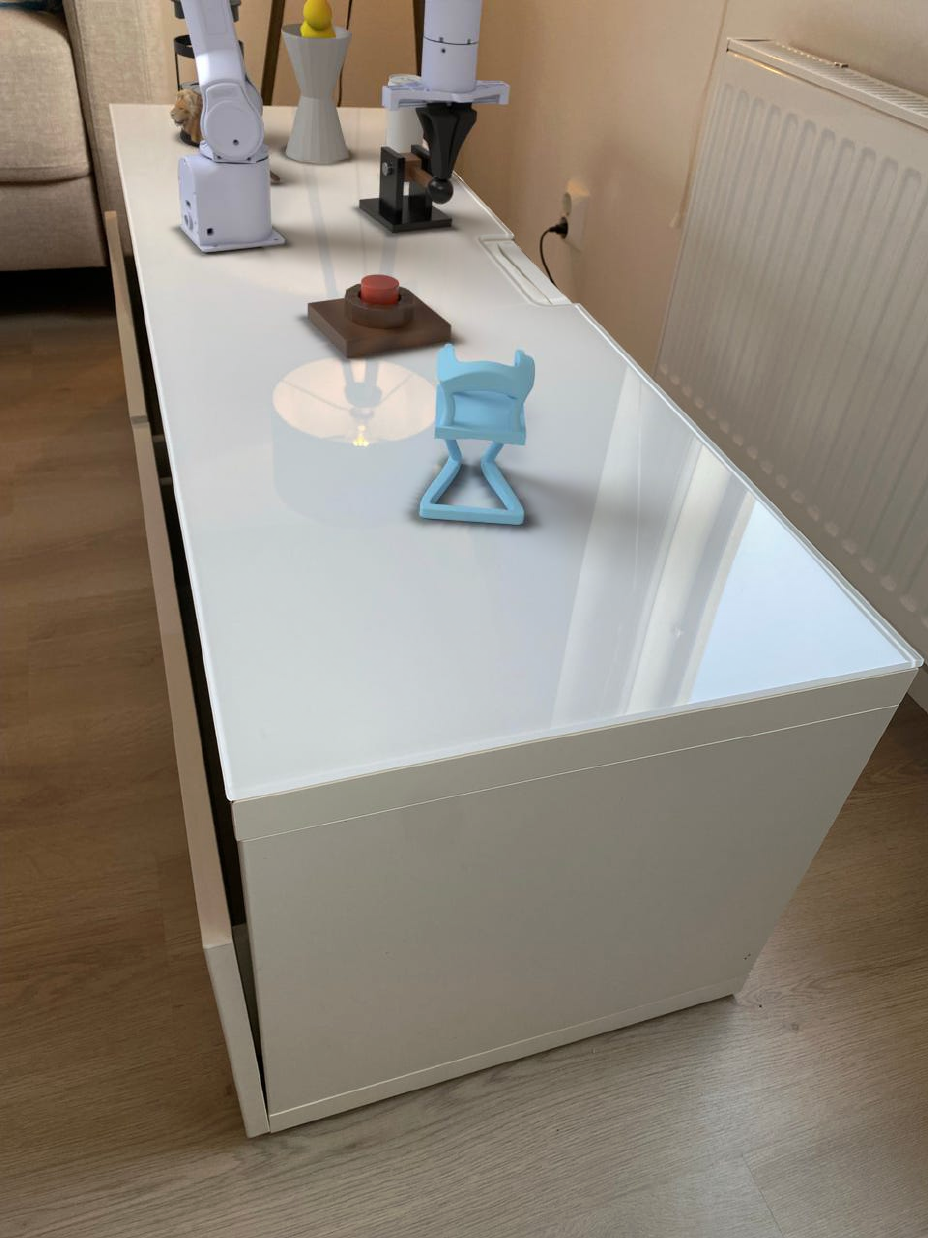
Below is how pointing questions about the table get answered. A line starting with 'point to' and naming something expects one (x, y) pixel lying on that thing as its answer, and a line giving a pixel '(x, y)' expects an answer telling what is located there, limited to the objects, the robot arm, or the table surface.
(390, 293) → the button
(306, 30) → the grey hourglass vase
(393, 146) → the beverage can
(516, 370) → the chair
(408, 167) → the lever
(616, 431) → the table surface
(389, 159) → the bracket
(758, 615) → the table surface
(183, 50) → the french press
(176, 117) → the lion figurine
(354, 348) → the button block
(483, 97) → the robot arm
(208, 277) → the table surface
